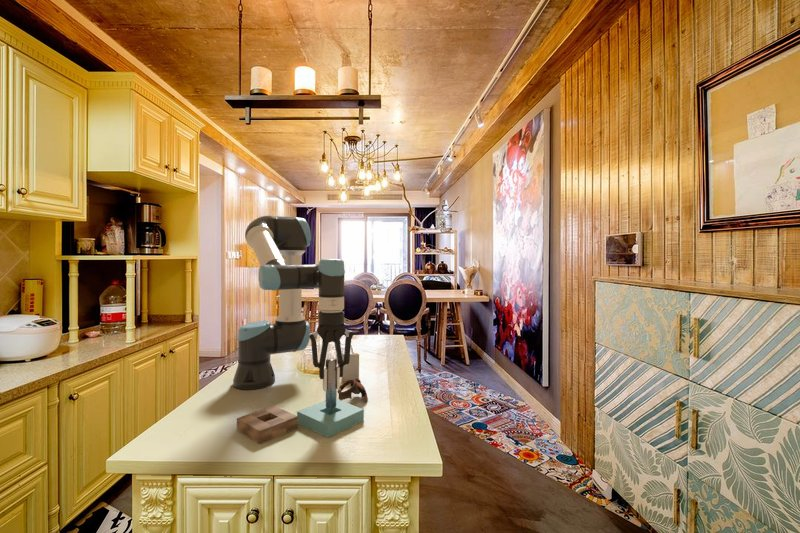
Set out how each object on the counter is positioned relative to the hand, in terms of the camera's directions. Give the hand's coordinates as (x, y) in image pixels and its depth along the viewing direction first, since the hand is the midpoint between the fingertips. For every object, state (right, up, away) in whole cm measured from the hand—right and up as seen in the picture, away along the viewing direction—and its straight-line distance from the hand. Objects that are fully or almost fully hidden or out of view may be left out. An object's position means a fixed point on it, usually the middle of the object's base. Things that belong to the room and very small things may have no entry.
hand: (331, 388), depth 115 cm
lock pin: (0, -5, 0) cm, 5 cm away
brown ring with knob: (+5, -10, +18) cm, 21 cm away
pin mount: (-17, -10, -5) cm, 21 cm away
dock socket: (0, -10, +1) cm, 10 cm away
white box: (+1, -9, +40) cm, 41 cm away
